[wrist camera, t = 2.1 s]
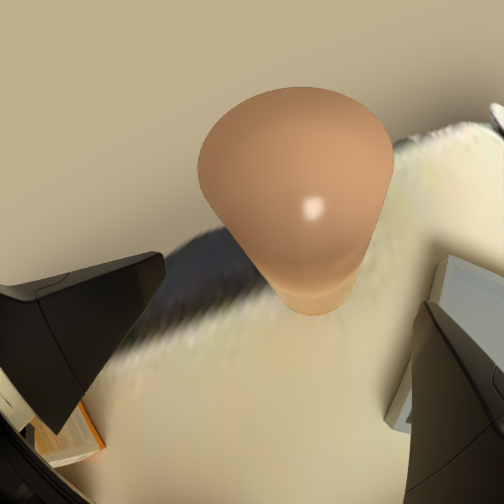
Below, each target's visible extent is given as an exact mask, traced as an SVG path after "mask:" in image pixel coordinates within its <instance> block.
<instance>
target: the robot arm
mask: <svg viewBox="0 0 504 504" xmlns="http://www.w3.org/2000/svg"><path fill="white" fill-rule="evenodd" d="M165 276H166V270H165V264H164V257H163V255H162V254H161V253H159V252H154V251H151V252H147V253H143V254H139V255H135V256H131V257H127V258H123V259H119V260H115V261H111V262H108V263H103V264H99V265H95V266H91V267H88V268H84V269H80V270H76V271H72V272H70V273H65V274H61V275H57V276H54V277H49V278H46V279H41V280H37V281H32V282H28V283H24V284H19V285H14V286H5V285H1V284H0V504H96V503H95V502H93V501H92V500H91V499H89V498H88V497H87V496H85V495H84V494H83V493H82V492H80V491H79V490H78V489H77V488H75V487H74V486H73V485H72V484H71V483H70V482H68V481H67V480H66V479H65V478H64V477H63V476H62V475H60V474H59V473H58V472H57V471H56V470H55V469H54V468H53V467H52V466H51V465H50V464H49V463H48V462H47V461H46V460H45V459H44V458H43V457H42V456H41V455H40V454H39V453H38V452H37V451H36V450H35V427H34V426H33V425H32V424H31V423H30V421H31V420H32V419H33V418H34V416H36V417H37V418H38V419H39V420H40V421H41V422H43V423H44V424H45V425H46V426H47V427H48V428H49V429H50V430H51V431H52V432H53V433H54V434H55V435H58V434H59V433H60V431H61V430H62V428H63V426H64V425H65V423H66V422H67V420H68V419H69V417H70V416H71V414H72V413H73V411H74V410H75V408H76V407H77V405H78V404H79V402H80V401H81V399H82V398H83V396H84V395H85V392H86V391H87V390H88V388H89V387H90V386H91V384H92V383H93V381H94V380H95V378H96V377H97V375H98V374H99V373H100V371H101V370H102V368H103V367H104V366H105V364H106V363H107V361H108V360H109V358H110V357H111V356H112V354H113V353H114V352H115V350H116V349H117V347H118V346H119V345H120V343H121V342H122V341H123V339H124V338H125V336H126V335H127V334H128V332H129V331H130V330H131V328H132V327H133V326H134V324H135V323H136V322H137V320H138V319H139V318H140V316H141V315H142V314H143V312H144V311H145V310H146V308H147V307H148V305H149V303H150V302H151V300H152V299H153V297H154V295H155V294H156V292H157V290H158V289H159V287H160V286H161V284H162V282H163V281H164V279H165ZM495 365H496V364H495V362H494V361H493V360H492V359H491V358H490V357H489V356H488V355H487V354H486V353H485V351H484V350H483V349H482V348H481V347H480V346H479V345H478V344H477V343H476V342H475V341H474V340H473V339H472V338H471V337H470V336H469V335H468V334H467V333H466V332H465V331H464V330H463V329H462V328H461V327H460V326H459V325H458V324H457V323H456V322H455V321H454V320H453V319H452V318H451V317H450V316H449V315H448V314H447V313H446V312H445V311H444V310H443V309H442V308H441V307H440V306H439V305H438V304H437V303H436V302H434V301H427V300H424V301H423V302H422V303H421V305H420V308H419V311H418V313H417V316H416V318H415V321H414V325H413V344H412V362H411V382H412V420H411V441H410V455H409V465H408V474H407V482H406V489H405V495H404V501H403V504H504V372H503V371H502V370H501V369H500V368H499V367H498V366H497V365H496V366H495Z"/></svg>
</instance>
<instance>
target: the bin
mask: <svg viewBox="0 0 504 504" xmlns="http://www.w3.org/2000/svg"><path fill="white" fill-rule="evenodd" d="M428 301H434V302H436V303H437V304H438V305H439V306H440V307H441V308H442V309H443V310H444V311H445V312H446V313H447V314H448V315H449V316H450V317H451V318H452V319H453V320H454V321H455V322H456V323H457V324H458V325H459V326H460V327H461V328H462V329H463V330H464V331H465V332H466V333H467V334H468V335H469V336H470V337H471V338H472V339H473V340H474V341H475V342H476V343H477V344H478V345H479V346H480V347H481V348H482V349H483V350H484V351H485V353H486V354H487V355H488V356H489V357H490V358H491V359H492V360H493V361H494V362H495V364H496V365H497V366H498V367H499V368H500V369H501V370H502V371H503V372H504V277H502V276H500V275H498V274H496V273H493V272H491V271H489V270H486V269H484V268H482V267H479V266H477V265H474V264H472V263H470V262H467V261H465V260H462V259H460V258H457V257H455V256H452V255H450V254H449V255H448V256H447V257H446V258H445V259H443V260H442V261H441V262H440V263H439V264H438V265H437V266H436V270H435V274H434V279H433V283H432V288H431V292H430V296H429V300H428ZM411 362H412V355H411V358H410V360H409V363H408V366H407V368H406V371H405V373H404V376H403V378H402V381H401V383H400V386H399V388H398V391H397V393H396V395H395V397H394V400H393V402H392V404H391V406H390V408H389V411H388V413H387V415H386V417H385V419H384V421H385V422H386V423H387V424H388V426H389V427H390V428H391V429H393V430H396V431H400V432H404V433H408V434H411V420H412V382H411ZM496 365H495V366H496Z"/></svg>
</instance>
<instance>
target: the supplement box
mask: <svg viewBox="0 0 504 504" xmlns="http://www.w3.org/2000/svg"><path fill="white" fill-rule="evenodd" d="M30 423H31V424H32V425H33V426H34V427H35V450H36V451H37V452H38V453H39V454H40V455H41V456H42V457H43V458H44V459H45V460H46V461H47V462H48V463H49V464H50V465H51V466H52V467H53V468H55V467H60V466H64V465H68V464H73V463H77V462H80V461H83V460H84V459H86V458H88V457H90V456H92V455H93V454H95V453H97V452H99V451H100V450H102V449H104V448H105V446H104V444H103V442H102V440H101V439H100V437H99V435H98V434H97V432H96V430H95V428H94V426H93V424H92V423H91V421H90V419H89V417H88V415H87V413H86V411H85V409H84V407H83V405H82V403H81V401H80V402H79V404H78V405H77V407H76V408H75V410H74V411H73V413H72V414H71V416H70V417H69V419H68V420H67V422H66V423H65V425H64V426H63V428H62V430H61V431H60V433H59V434H58V435H55V434H54V433H53V432H52V431H51V430H50V429H49V428H48V427H47V426H46V425H45V424H44V423H43V422H41V421H40V420H39V419H38V418H37V417H36V416H34V418H33V419H32V420H31V421H30Z"/></svg>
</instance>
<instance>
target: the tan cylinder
mask: <svg viewBox="0 0 504 504" xmlns="http://www.w3.org/2000/svg"><path fill="white" fill-rule="evenodd" d="M393 165H394V155H393V148H392V144H391V141H390V138H389V136H388V134H387V132H386V130H385V128H384V127H383V125H382V124H381V123H380V121H379V120H378V119H377V118H376V116H375V115H374V114H373V113H371V112H370V111H369V110H368V109H367V108H366V107H364V106H363V105H361V104H360V103H359V102H357V101H355V100H353V99H352V98H349V97H347V96H345V95H343V94H340V93H337V92H333V91H330V90H325V89H321V88H312V87H291V88H282V89H277V90H272V91H268V92H265V93H262V94H259V95H256V96H254V97H252V98H250V99H247V100H246V101H244V102H242V103H240V104H239V105H237V106H236V107H234V108H233V109H231V110H230V111H229V112H227V113H226V114H225V115H224V116H223V117H222V118H221V119H220V120H219V121H218V122H217V123H216V124H215V126H214V127H213V128H212V130H211V131H210V132H209V134H208V135H207V137H206V139H205V141H204V143H203V146H202V148H201V151H200V155H199V159H198V178H199V183H200V187H201V190H202V192H203V194H204V197H205V198H206V199H207V201H208V203H209V204H210V206H211V207H212V208H213V210H214V211H215V213H216V214H217V215H218V217H219V218H220V219H221V221H222V222H223V223H224V225H225V226H226V227H227V229H228V230H229V231H230V233H231V234H232V235H233V237H234V238H235V239H236V241H237V242H238V243H239V245H240V246H241V248H242V249H243V250H244V252H245V253H246V254H247V256H248V257H249V258H250V260H251V261H252V262H253V264H254V265H255V266H256V268H257V269H258V270H259V272H260V273H261V274H262V276H263V277H264V278H265V280H266V281H267V282H268V283H269V285H270V286H271V287H272V289H273V290H274V291H275V293H276V294H277V295H278V297H279V298H280V299H281V301H282V302H283V303H284V304H285V305H286V306H287V307H288V308H290V309H292V310H293V311H295V312H297V313H300V314H304V315H313V316H315V315H322V314H326V313H328V312H331V311H332V310H334V309H336V308H337V307H339V306H340V305H341V304H342V303H343V302H344V301H345V299H346V298H347V297H348V295H349V293H350V291H351V289H352V286H353V284H354V282H355V279H356V277H357V274H358V272H359V269H360V267H361V264H362V262H363V259H364V256H365V254H366V251H367V249H368V246H369V243H370V240H371V238H372V235H373V232H374V229H375V226H376V224H377V221H378V218H379V215H380V212H381V209H382V206H383V203H384V200H385V196H386V193H387V190H388V187H389V183H390V180H391V177H392V173H393Z"/></svg>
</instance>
